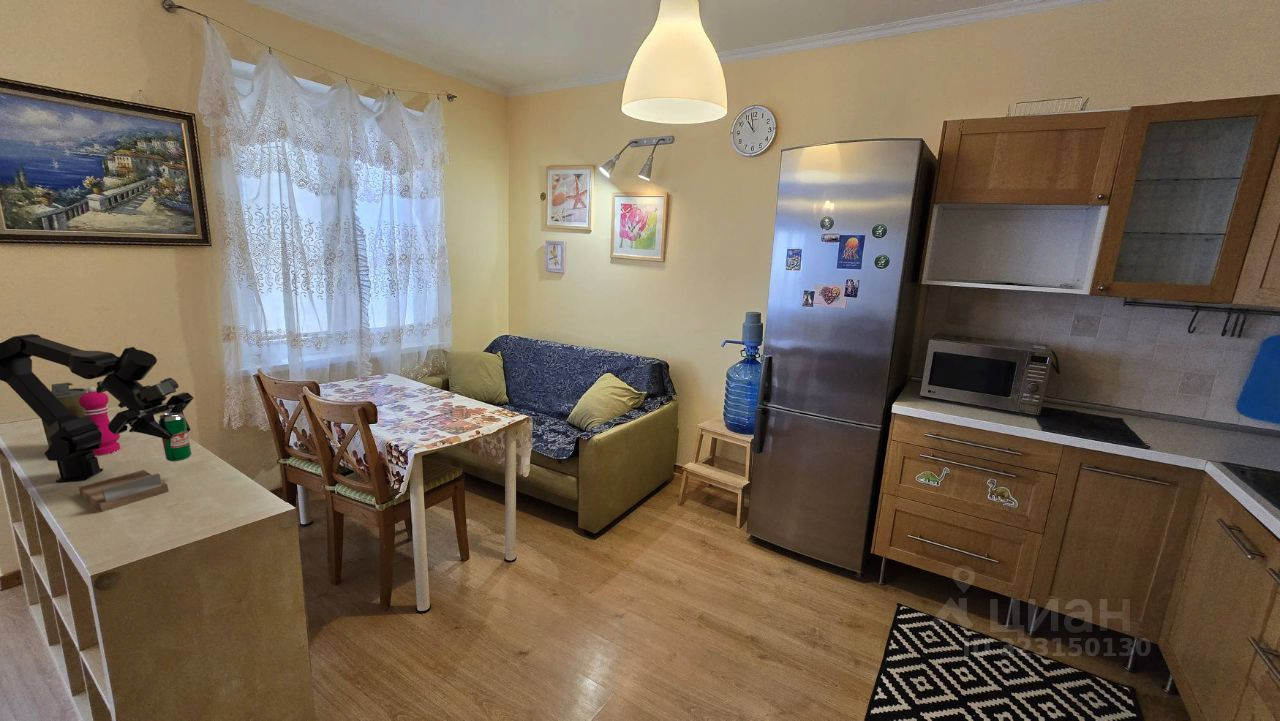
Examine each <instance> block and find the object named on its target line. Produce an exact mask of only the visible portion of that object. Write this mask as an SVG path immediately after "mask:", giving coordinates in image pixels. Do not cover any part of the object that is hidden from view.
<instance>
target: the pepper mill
mask: <svg viewBox="0 0 1280 721" xmlns="http://www.w3.org/2000/svg"><path fill="white" fill-rule="evenodd" d="M96 388H97V387H95V386H88V387H87V388H86V390H87V392H86V393H85V394H83V395H82V396H81V397H80V398H79V404H80V406H82V407H83V408H85V409H84V412H85V413H84V414H85V415H87V416H88V417H90V418H91V419H92V421H93V422H94V423H95V424H96V425H98V426H99V428H98V429H99V430H100V431H101V433H102V438H101V445H100V449H96V450H93V451H94V454H95V456H103V455H102V454H105V455H109V454H112V453H111V452H113V453H115V452H114V451H116V452H117V450H118V451H120V450H121V446H120V445H121V444H120V442H117V441H118V440H119V439H120V437H121V433H119V434H116V435H115V434H113V433H112V432H111V431H110V430H109V429H108V424H109V423H110V422H111V420H110V418H109V415H108V412H109V411H110V410H109V406H108V405H107V404H108V403H109V401H110V398H109V396H108V394H106V393H105V392H101V393H97V392H96ZM119 449H120V450H119ZM108 453H109V454H108Z"/></svg>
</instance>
